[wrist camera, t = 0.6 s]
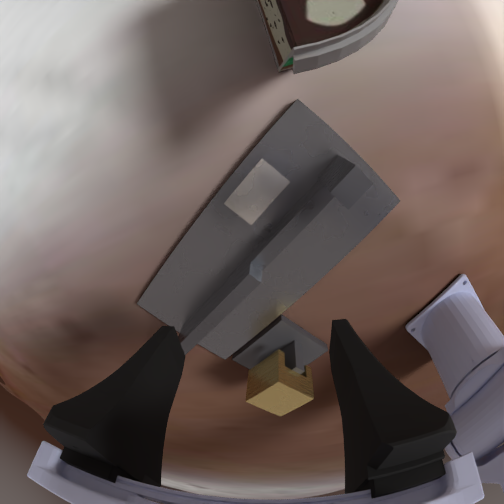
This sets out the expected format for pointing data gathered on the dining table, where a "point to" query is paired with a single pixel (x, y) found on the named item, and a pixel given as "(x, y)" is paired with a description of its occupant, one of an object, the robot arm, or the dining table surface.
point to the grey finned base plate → (281, 346)
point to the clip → (278, 385)
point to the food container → (320, 29)
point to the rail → (268, 235)
